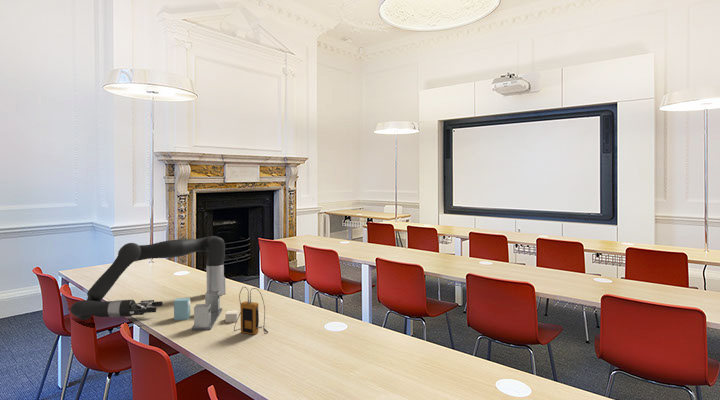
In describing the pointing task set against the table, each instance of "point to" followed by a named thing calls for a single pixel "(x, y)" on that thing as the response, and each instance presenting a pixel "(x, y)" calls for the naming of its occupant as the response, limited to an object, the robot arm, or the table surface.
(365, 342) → the table surface
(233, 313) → the block
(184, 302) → the block
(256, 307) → the multimeter
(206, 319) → the grey u-shaped metal stand
